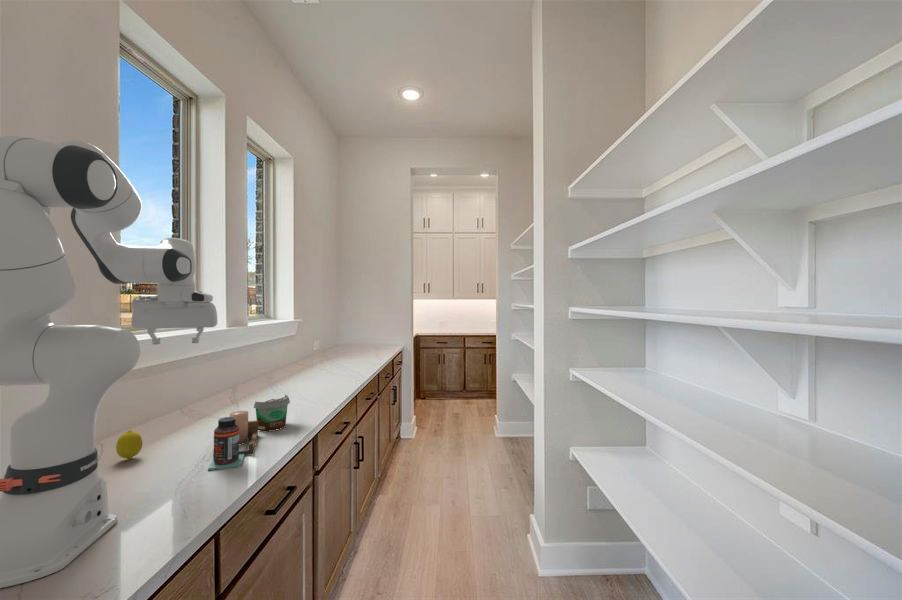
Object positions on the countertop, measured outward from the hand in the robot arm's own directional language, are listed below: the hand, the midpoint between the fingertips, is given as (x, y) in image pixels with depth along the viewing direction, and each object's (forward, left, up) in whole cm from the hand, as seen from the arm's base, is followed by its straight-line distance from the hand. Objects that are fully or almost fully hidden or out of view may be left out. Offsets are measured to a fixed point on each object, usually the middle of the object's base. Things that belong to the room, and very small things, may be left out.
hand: (176, 343), depth 112 cm
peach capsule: (+2, -16, -31) cm, 35 cm away
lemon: (-2, +10, -31) cm, 33 cm away
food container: (+12, -26, -31) cm, 42 cm away
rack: (-2, -16, -31) cm, 35 cm away
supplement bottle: (-14, -15, -31) cm, 37 cm away
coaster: (-14, -15, -31) cm, 37 cm away
